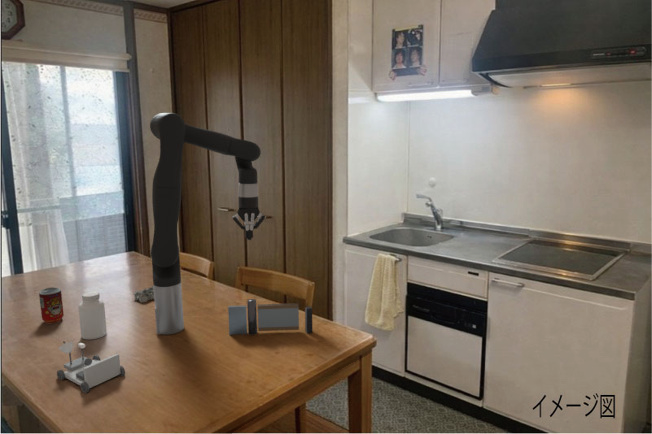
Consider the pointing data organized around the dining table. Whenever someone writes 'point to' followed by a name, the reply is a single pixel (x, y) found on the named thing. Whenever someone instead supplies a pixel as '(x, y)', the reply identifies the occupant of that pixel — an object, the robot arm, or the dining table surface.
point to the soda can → (51, 305)
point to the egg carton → (144, 294)
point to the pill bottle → (92, 316)
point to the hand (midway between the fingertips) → (249, 239)
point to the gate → (278, 317)
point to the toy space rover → (89, 368)
